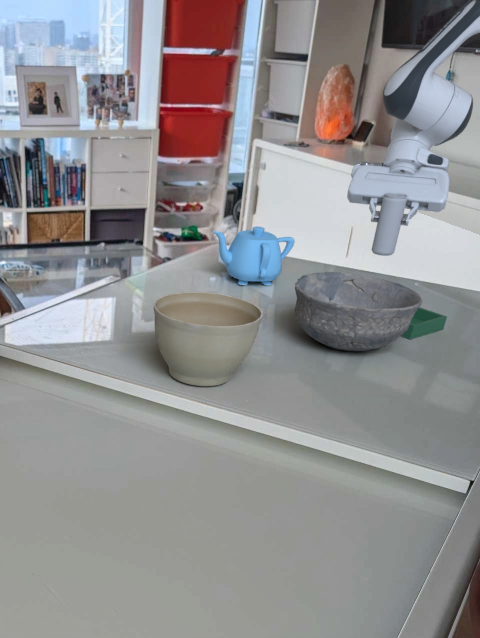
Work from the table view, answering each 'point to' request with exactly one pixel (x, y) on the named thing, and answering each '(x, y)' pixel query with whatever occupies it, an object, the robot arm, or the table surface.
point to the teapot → (254, 255)
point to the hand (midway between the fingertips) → (389, 222)
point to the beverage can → (389, 223)
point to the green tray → (424, 323)
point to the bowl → (353, 309)
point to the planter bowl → (205, 335)
